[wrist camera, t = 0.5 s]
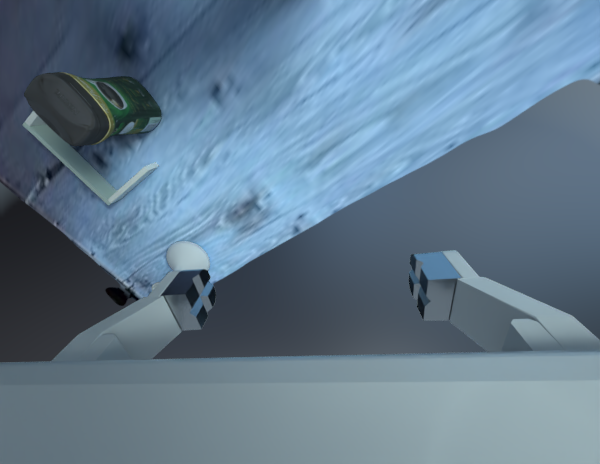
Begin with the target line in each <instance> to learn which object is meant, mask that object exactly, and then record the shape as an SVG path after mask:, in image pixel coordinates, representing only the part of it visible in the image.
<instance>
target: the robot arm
mask: <svg viewBox="0 0 600 464" xmlns="http://www.w3.org/2000/svg"><path fill="white" fill-rule="evenodd" d="M410 265H411V267H412V270H411V271H410V273H409V287H410V291H411V294H412V296H413V298H414V299H416V300H417V308H418V310H419V312H420V314H421V316H422V319H423V321H435V320H436V321H440V320H450V322H451V323H452V324H453V325H454V326H456V327H457V328H458V329H460V330H461V331H462V332H463V333H465V334H466V335H467V336H468V337H470V338H471V339H472V340H473V341H475V342H476V343H477V344H478V345H480V346H481V347H482V348H484V349H485V350H486V351H487V352H467V353H466V352H463V353H427V354H426V353H422V354H377V355H331V356H330V355H329V356H327V355H326V356H283V357H238V358H195V359H194V358H193V359H152V358H153V357H154V356H155V355H156V354H158V353H159V352H160V351H161V350H162V349H163V348H164V347H165V346H166V345H167V344H168V343H170V342H171V341H172V340H173V339H174V338H175V337H176V336H177V335H178V334H180V332H181V331H182V330H198V329H202V327H203V325H204V324H205V322H206V320H207V318H208V314H207V312H208V311H209V310H210V309H211V308H213V306H214V303H215V300H216V291H215V288H214V285H213V284H211V283H210V282H209V279H210V275H209V273H208V271H207V270H205V269H195V270H177V271H171V272H168V273H167V275H166V276H165V277H164V278H163V279H162V280H161V282H160V283H159V284H158V285H157V286H156V287H155V288H154V290H153V291H152V292H151V293H150V294H149V295H148V297H143V298H141V299H140V300H138V301H136V302H135V303H133V304H131V305H129V306H127V307H126V308H124V309H122V310H120V311H119V312H117V313H115V314H113V315H112V316H110V317H108V318H107V319H105V320H103V321H101V322H99V323H98V324H96V325H94V326H92V327H91V328H89V329H87V330H85V331H84V332H82V333H80V334H78V335H77V336H76V337H75V338H74V340H72V341H71V342H70V343H69V344H68V345H67V346H66V347H65V348H64V349H63V350H62V351H61V352H60V353H59V354H58V355H57V356H56V357H55V358H54V359H53V360H52V361H51V362H9V363H0V464H600V340H599V339H598V338H597V337H595V336H594V335H593V334H592V333H591V332H590V331H589V330H588V329H586V328H585V327H584V326H583V325H582V324H581V323H580V322H578V321H577V320H576V319H575V318H574V317H573V316H571V315H569V314H567V313H564V312H562V311H560V310H558V309H555V308H553V307H551V306H549V305H546V304H544V303H542V302H539V301H537V300H535V299H533V298H530V297H528V296H526V295H524V294H521V293H519V292H517V291H515V290H512V289H510V288H508V287H506V286H503V285H501V284H499V283H497V282H494V281H492V280H490V279H487V278H485V277H479V276H478V275H477V274H476V272H475V271H474V270H473V269H472V268H471V267H470V266H469V264H468V263H467V262H466V261H465V260H464V259H463V258H462V256H461V255H460V254H459V253H458V252H457V251H455V250H451V251H442V252H433V253H422V254H412V255H411V257H410Z"/></svg>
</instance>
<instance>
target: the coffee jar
mask: <svg viewBox="0 0 600 464" xmlns="http://www.w3.org/2000/svg"><path fill="white" fill-rule="evenodd" d="M24 96H25V97H26V99H27V101H28V103H29V105H30V106H31V108H32V109H33V111H34V112H35V113H36V114H37V115H38V116H39V117H40V118H41V119H42V120H43V121H44V122H45V123H46V124H47V125H48V126H49V127H50V128H51V129H52V130H53V131H54V132H55V133H56V134H57V135H58V136H59V137H60V138H62V139H63V140H64V141H65V142H67V143H68V144H70V145H73V146H84V145H95V144H98V143H100V142H102V141H104V140H105V139H107V138H108V137H109V136H114V135H125V134H141V133H147V132H149V131H151V130H153V129H154V128H155V127H156V126H157V125H158V124H159V122H160V120H161V110H160V108H159V106H158V105H157V103H156V102H155V100H154V99H153V98H152V96H151V95H150V94H149V93H148V91H147V90H146V89H145V88H144V87H143V86H142V85H141V84H140V83H139V82H138V81H137V80H135V79H134V78H131V77H126V76H121V77H110V78H96V79H88V78H81V77H78V76H75V75H72V74H68V73H64V72H56V73H46V74H42V75H39V76H37V77H36V78H34V79H33V81H32V82H31V83H30V84H29V86H28V87H27V89H26V91H25V93H24Z"/></svg>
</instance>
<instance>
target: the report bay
mask: <svg viewBox="0 0 600 464" xmlns="http://www.w3.org/2000/svg"><path fill="white" fill-rule="evenodd" d="M23 126H24V127H25V128H26V129H27V130H28V131H29V132H30V133H31V134H33V135H34V136H35V137H36V138H37V139H38V140H39V141H40V142H41V143H42V144H43V145H44V146H45V147H46V148H47V149H49V150H50V151H51V152H52V153H53V154H54V155H55V156H56V157H57V158H58V159H59V160H60V161H61V162H62V163H63V164H65V165H66V166H67V167H68V168H69V169H70V170H71V171H72V172H73V173H74V174H75V175H76V176H77V177H78V178H79V179H81V180H82V181H83V182H84V183H85V184H86V185H87V186H88V187H89V188H90V189H91V190H92V191H93V192H94V193H95V194H97V195H98V196H99V197H100V198H101V199H102V200H103V201H104V202H105V203H106V204H107V205H108V206H109V205H111V204H112V203H114V202H116V201H118V200H120V199H122V198H123V197H124V196H125V195H126V194H127V193H128V192H130V191H131V190H132V189H133V188H134V187H135V186H137V185H138V184H139V183H140V182H141V181H142V180H143V179H145V178H146V177H147V176H148V175H149V174H150V173H152V172H153V171H154V170H155V169H156V168H157V167H158V166H159V165H158V164H157V163H156V162H155V163H152V164H150V165H147V166H145V167H144V168H142V169H141V170H140V171H139V172H138V173H137V174H136V175H135V176H133V177H132V178H131V179H130V180H129V181H128V182H127V183H126V184H124V185H123V186H122V187H121V188H120V189H119V190H118V191H116V190H115V189H114V188H113V187H112V186H111V185H110V184H109V183H108V182H107V181H106V180H105V179H104V178H103V177H102V176H101V175H100V174H99V173H98V172H97V171H96V170H95V169H94V168H93V167H92V166H91V165H90V164H89V163H88V162H87V161H86V160H85V159H84V158H83V157H82V156H81V155H79V154H78V153H77V152H76V151H75V150H74V149H73V148H72V147H71V146H70V145H69V144H68V143H67V142H65V141H64V140H63V139H62V138H60V137H59V136H58V135H57V134H56V133H55V132H54V131H53V130H52V129H51V128H50V127H49V126H48V125H47V124H46V123H45V122H44V121H43V120H42V119H41V118H40V117H39V116H38V115H37V114H36V113H35V112H34V111H33V112H32V113H31V114H30V116H29V117H28V118H27V120H26V121H25V122H24V123H23Z"/></svg>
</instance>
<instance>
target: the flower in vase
mask: <svg viewBox="0 0 600 464" xmlns="http://www.w3.org/2000/svg"><path fill="white" fill-rule="evenodd" d="M166 258H167V262H168V264H169V266H170V268H171V269H172V270H173V271H177V270H195V269H205V270H207V271H208V270H209V268H210V260H209V257H208V255H207V253H206V252H205V250H204V249H203V248H201V247H200V246H199V245H197V244H195V243H192V242H188V241H179V242H175V243H173V244H172V245H171V246H170V247H169V248H168V250H167V255H166ZM159 283H160V282H157V283H155V284H153V285H152V291H153V290H154V288H155V287H156V286H157V285H158V284H159Z"/></svg>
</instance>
